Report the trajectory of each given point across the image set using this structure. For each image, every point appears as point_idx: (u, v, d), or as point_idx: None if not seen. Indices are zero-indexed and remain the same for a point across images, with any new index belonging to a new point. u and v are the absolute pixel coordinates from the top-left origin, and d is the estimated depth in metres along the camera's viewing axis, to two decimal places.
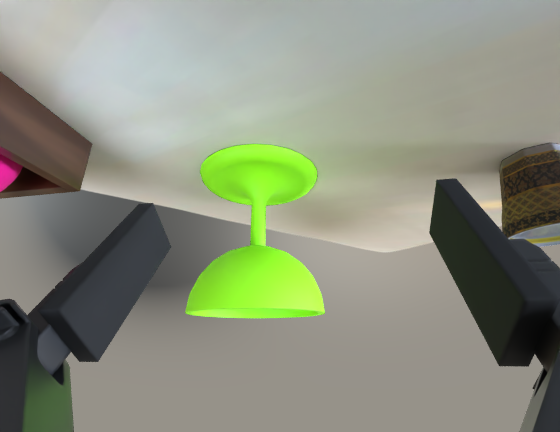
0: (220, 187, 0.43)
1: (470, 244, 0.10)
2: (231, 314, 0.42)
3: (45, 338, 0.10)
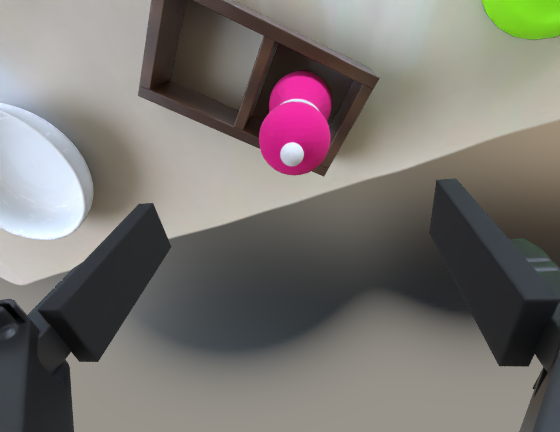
0: (528, 5, 0.31)
1: (470, 244, 0.10)
2: None
3: (45, 338, 0.10)
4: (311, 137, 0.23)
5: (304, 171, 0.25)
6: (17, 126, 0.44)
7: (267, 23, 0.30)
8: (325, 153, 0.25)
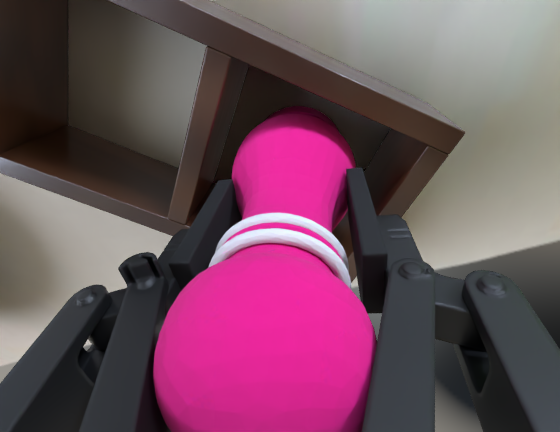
0: None
1: (353, 219, 0.12)
2: None
3: (172, 295, 0.11)
4: None
5: None
6: None
7: (211, 17, 0.13)
8: None
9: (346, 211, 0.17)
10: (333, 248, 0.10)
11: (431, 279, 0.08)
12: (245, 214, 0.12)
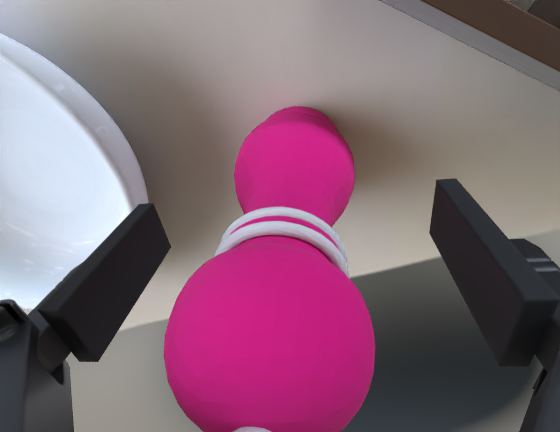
0: None
1: (470, 244, 0.10)
2: None
3: (45, 338, 0.10)
4: (318, 404, 0.07)
5: None
6: None
7: None
8: None
9: None
10: (331, 240, 0.11)
11: None
12: (248, 209, 0.13)
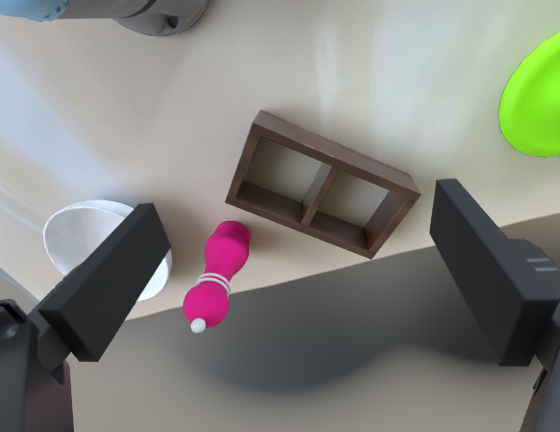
0: (539, 137, 0.39)
1: (470, 244, 0.10)
2: None
3: (45, 338, 0.10)
4: (210, 314, 0.39)
5: (211, 326, 0.41)
6: None
7: (335, 158, 0.39)
8: (223, 317, 0.40)
9: (243, 264, 0.49)
10: (224, 281, 0.43)
11: None
12: (205, 270, 0.45)
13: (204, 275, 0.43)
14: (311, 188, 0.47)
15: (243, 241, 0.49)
